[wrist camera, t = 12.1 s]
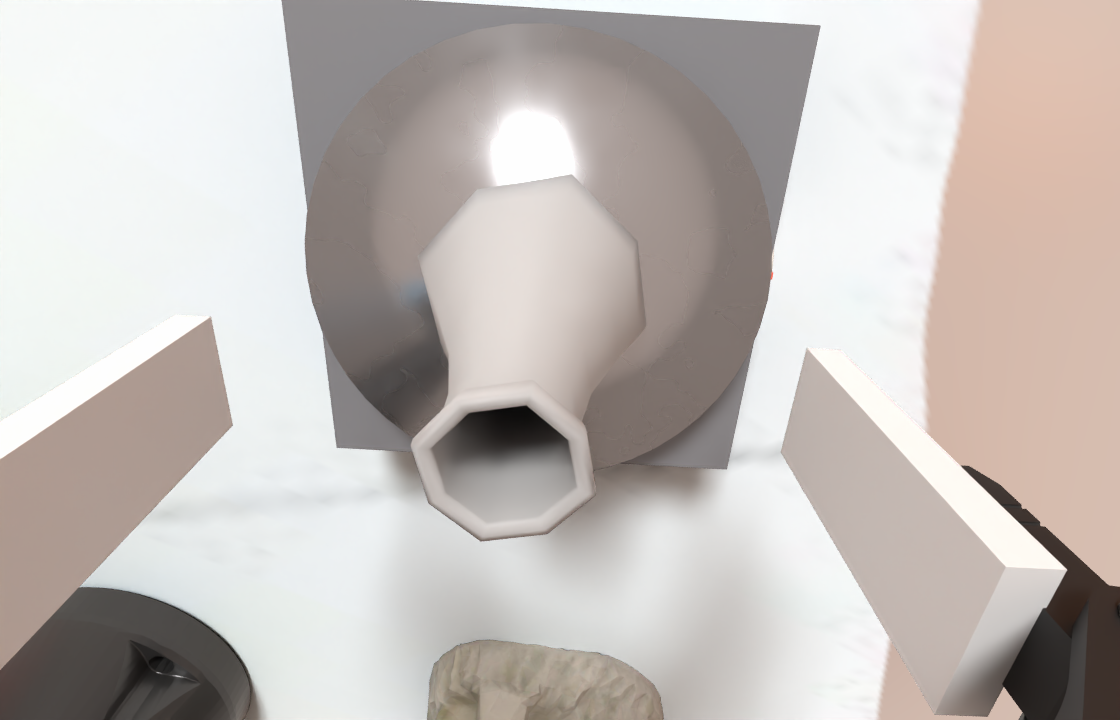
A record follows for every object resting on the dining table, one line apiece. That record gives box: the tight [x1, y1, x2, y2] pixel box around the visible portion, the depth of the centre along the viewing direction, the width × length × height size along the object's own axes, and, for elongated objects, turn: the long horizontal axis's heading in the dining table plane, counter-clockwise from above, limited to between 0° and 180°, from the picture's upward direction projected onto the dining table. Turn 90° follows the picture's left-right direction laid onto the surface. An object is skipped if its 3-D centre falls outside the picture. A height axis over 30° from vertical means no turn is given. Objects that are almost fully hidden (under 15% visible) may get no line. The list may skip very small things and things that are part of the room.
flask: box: [411, 174, 647, 541], centre depth 15 cm, size 7×7×10 cm
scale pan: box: [305, 23, 772, 470], centre depth 20 cm, size 15×15×1 cm
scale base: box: [282, 0, 820, 469], centre depth 23 cm, size 16×16×6 cm
